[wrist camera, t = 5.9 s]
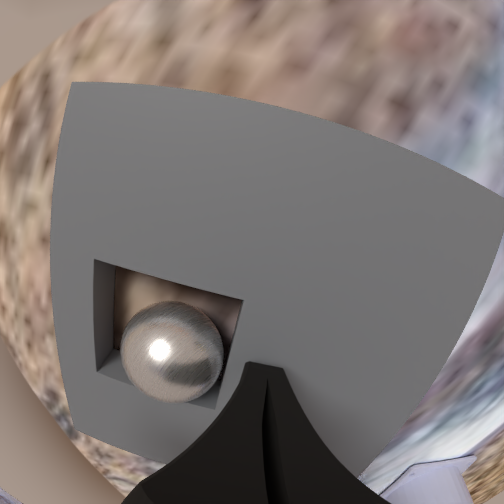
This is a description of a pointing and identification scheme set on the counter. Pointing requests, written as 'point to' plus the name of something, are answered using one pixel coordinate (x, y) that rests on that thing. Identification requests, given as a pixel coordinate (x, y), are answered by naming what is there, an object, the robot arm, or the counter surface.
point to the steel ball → (172, 352)
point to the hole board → (261, 259)
